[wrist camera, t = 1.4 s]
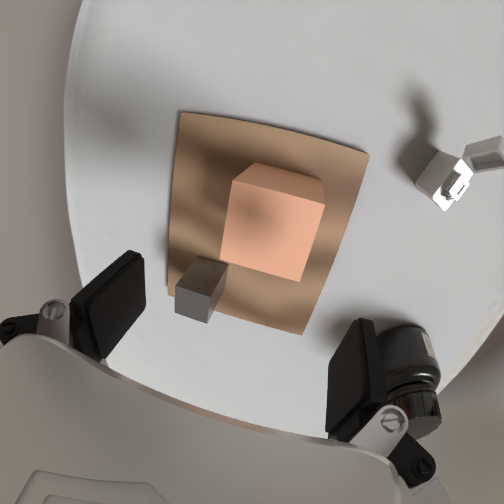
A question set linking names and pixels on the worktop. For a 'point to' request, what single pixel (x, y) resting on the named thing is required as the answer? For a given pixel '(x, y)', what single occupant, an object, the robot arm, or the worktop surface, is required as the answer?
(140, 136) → the worktop surface
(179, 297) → the post
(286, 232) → the salmon orange block
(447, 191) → the lighter
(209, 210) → the base board
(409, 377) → the ink bottle
